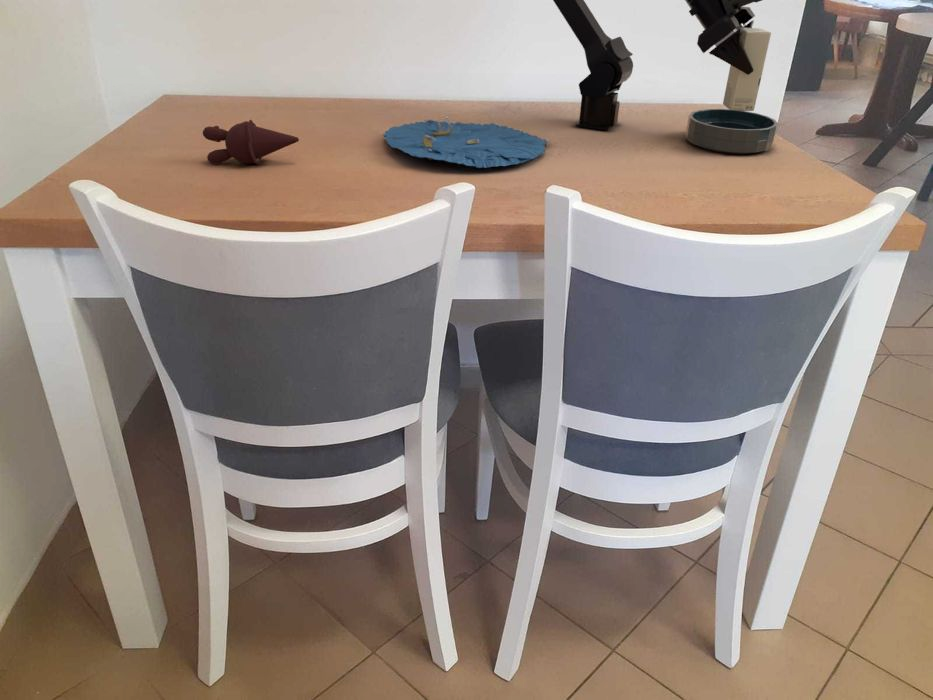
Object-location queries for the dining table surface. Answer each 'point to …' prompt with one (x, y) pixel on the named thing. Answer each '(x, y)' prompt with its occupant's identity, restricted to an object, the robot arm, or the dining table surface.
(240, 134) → the icecream
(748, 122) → the bowl
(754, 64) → the box
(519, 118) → the dining table surface
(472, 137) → the decorative plate
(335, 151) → the dining table surface
